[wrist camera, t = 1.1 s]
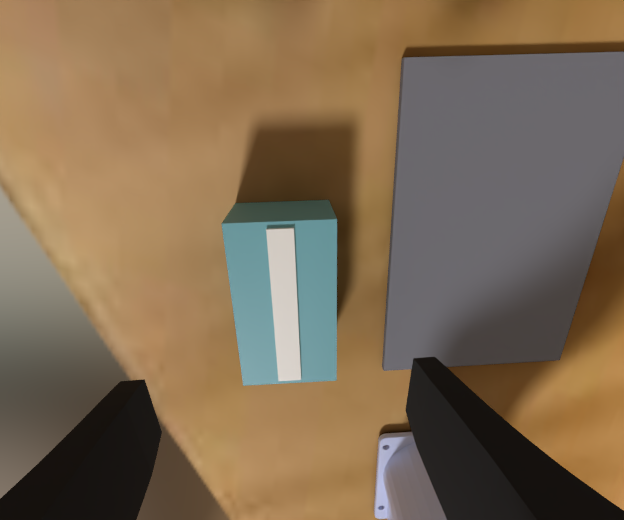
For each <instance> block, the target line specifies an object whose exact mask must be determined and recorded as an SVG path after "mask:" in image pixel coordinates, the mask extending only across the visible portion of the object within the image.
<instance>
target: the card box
mask: <svg viewBox="0 0 624 520" xmlns="http://www.w3.org/2000/svg"><path fill="white" fill-rule="evenodd" d="M222 230H223V238H224V245H225V253H226V260H227V268H228V275H229V282H230V290H231V297H232V305H233V312H234V320H235V327H236V335H237V342H238V349H239V357H240V364H241V372H242V379H243V386H246V385H263V384H281V383H299V382H317V381H335V380H336V369H337V218H336V215H335V213H334V211H333V208H332V206H331V204H330V201H329V200H309V201H282V202H254V203H235V205H234V206H233V208H232V209H231V210H230V212H229V213H228V215H227V216H226V218H225V219H224V221H223V222H222Z"/></svg>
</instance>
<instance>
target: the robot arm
mask: <svg viewBox="0 0 624 520" xmlns="http://www.w3.org/2000/svg"><path fill="white" fill-rule="evenodd" d="M406 413H407V417H408V420H409V424H410V427H411V431H412V432H400V433H385V434H382V435H381V436H380V437H379V440H378V456H377V471H376V486H375V502H374V514H375V517H376V518H378V519H385V518H387V519H388V520H624V511H623V510H622V509H620V508H619V507H617V506H616V505H614V504H613V503H612V502H610V501H609V500H607V499H606V498H604V497H603V496H602V495H600V494H599V493H598V492H596V491H595V490H593V489H592V488H591V487H589V486H588V485H587V484H585V483H584V482H582V481H581V480H580V479H578V478H577V477H575V476H574V475H573V474H571V473H570V472H569V471H567V470H566V469H565V468H563V467H562V466H561V465H559V464H558V463H557V462H556V461H554V460H553V459H552V458H550V457H549V456H548V455H547V454H545V453H544V452H543V451H542V450H540V449H539V448H538V447H537V446H535V445H534V444H533V443H532V442H530V441H529V440H528V439H527V438H525V437H524V436H523V435H522V434H521V433H519V432H518V431H517V430H516V429H515V428H514V427H512V426H511V425H510V424H509V423H508V422H506V421H505V420H504V419H503V418H502V417H501V416H500V415H498V414H497V413H496V412H495V411H494V410H493V409H492V408H490V407H489V406H488V405H487V404H486V403H485V402H484V401H483V400H481V399H480V398H479V397H478V396H477V395H476V394H475V393H474V392H473V391H472V390H471V389H469V388H468V387H467V386H466V385H465V384H464V383H463V382H462V381H461V380H460V379H459V378H458V377H456V376H455V375H454V374H453V373H452V372H451V371H450V370H449V369H448V368H447V367H446V366H445V365H443V364H442V363H441V362H440V361H439V360H438V359H437V358H436V357H424V358H413V364H412V371H411V378H410V384H409V391H408V398H407V405H406ZM161 433H162V431H161V429H160V425H159V422H158V419H157V416H156V413H155V410H154V407H153V404H152V401H151V398H150V395H149V392H148V389H147V386H146V383H145V380H133V381H121V382H120V383H118V385H116V386H115V387H114V388H113V389H112V390H111V391H110V392H109V393H108V395H107V396H105V397H104V398H103V399H102V400H101V401H100V402H99V403H98V405H97V406H96V407H95V408H94V409H93V410H92V411H91V412H90V413H89V414H88V415H87V416H86V417H85V418H84V419H83V420H82V421H81V422H80V423H79V424H78V425H77V426H76V427H75V428H74V429H73V430H72V431H71V432H70V433H69V434H68V435H67V436H66V437H65V438H64V439H63V440H62V441H61V442H60V443H59V444H58V445H57V446H56V447H55V448H54V449H53V450H52V451H51V452H50V453H49V454H48V455H47V456H46V457H45V458H43V459H42V461H40V462H39V464H37V465H36V466H35V467H34V468H33V469H32V470H31V471H30V472H29V473H28V474H27V475H26V476H24V477H23V478H22V479H21V480H20V481H19V482H18V483H17V484H16V485H15V486H14V487H13V488H11V489H10V490H9V491H8V492H7V493H6V494H5V495H4V496H3V497H2V498H1V499H0V520H136V519H137V516H138V513H139V510H140V507H141V505H142V502H143V499H144V496H145V493H146V490H147V487H148V484H149V482H150V479H151V476H152V472H153V468H154V464H155V460H156V456H157V451H158V447H159V442H160V438H161Z"/></svg>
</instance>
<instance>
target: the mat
mask: <svg viewBox="0 0 624 520" xmlns="http://www.w3.org/2000/svg"><path fill="white" fill-rule="evenodd" d="M623 158H624V52H592V53H554V54H516V55H478V56H440V57H404V58H402V63H401V79H400V95H399V110H398V126H397V142H396V158H395V173H394V189H393V205H392V220H391V236H390V252H389V268H388V283H387V299H386V315H385V331H384V346H383V362H382V367H383V370H384V371H387V370H404V369H412V364H413V358H424V357H436V358H437V359H438V360H439V361H440V362H441V363H442V364H443V365H445V366H446V367H454V366H471V365H487V364H504V363H521V362H537V361H554V360H560V357H561V354H562V351H563V348H564V345H565V342H566V338H567V335H568V332H569V329H570V326H571V323H572V319H573V316H574V313H575V310H576V307H577V304H578V300H579V297H580V294H581V291H582V288H583V285H584V281H585V278H586V275H587V272H588V269H589V266H590V262H591V259H592V256H593V253H594V250H595V247H596V243H597V240H598V237H599V234H600V231H601V228H602V224H603V221H604V218H605V215H606V212H607V209H608V205H609V202H610V199H611V196H612V193H613V190H614V186H615V183H616V180H617V177H618V174H619V171H620V167H621V164H622V161H623Z"/></svg>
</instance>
